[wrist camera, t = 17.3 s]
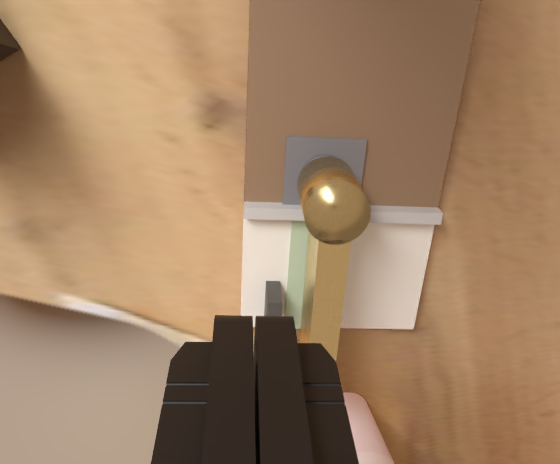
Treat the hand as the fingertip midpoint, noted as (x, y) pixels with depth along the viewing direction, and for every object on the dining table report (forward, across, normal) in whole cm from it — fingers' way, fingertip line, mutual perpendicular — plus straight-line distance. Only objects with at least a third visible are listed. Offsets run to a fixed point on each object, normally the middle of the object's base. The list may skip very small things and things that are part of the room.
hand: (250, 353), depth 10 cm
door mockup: (+25, -7, +5) cm, 26 cm away
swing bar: (+22, -5, +11) cm, 25 cm away
